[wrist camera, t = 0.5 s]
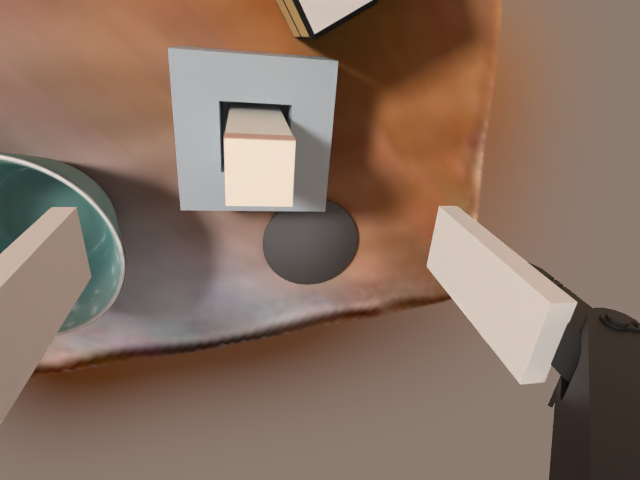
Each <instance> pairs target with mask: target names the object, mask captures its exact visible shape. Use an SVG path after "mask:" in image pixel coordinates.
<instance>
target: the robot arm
mask: <svg viewBox="0 0 640 480" xmlns="http://www.w3.org/2000/svg"><path fill="white" fill-rule="evenodd" d="M427 268H428V269H429V270H430V272H431V273H432V274H433V275H434V277H435V278H436V279H437V280H438V282H439V283H440V284H441V285H442V287H443V288H444V289H445V290H446V292H447V293H448V294H449V295H450V297H451V298H452V299H453V300H454V302H455V303H456V304H457V305H458V307H459V308H460V309H461V310H462V312H463V313H464V314H465V315H466V317H467V318H468V319H469V320H470V322H471V323H472V324H473V325H474V327H475V328H476V329H477V330H478V332H479V333H480V334H481V336H482V337H483V338H484V339H485V340H486V342H487V343H488V344H489V345H490V347H491V348H492V349H493V350H494V352H495V353H496V354H497V356H498V357H499V358H500V359H501V361H502V362H503V363H504V364H505V366H506V367H507V368H508V369H509V371H510V372H511V373H512V374H513V376H514V377H515V378H516V379H517V381H518V382H519V383H520V384H531V383H542V382H545V380H546V378H547V375H548V373H549V370H550V368H551V366H553V367H554V368H555V369H556V370H557V371H558V372H559V374H560V375H561V376H560V379H559V381H558V383H557V386H556V388H555V390H554V392H553V395H552V398H551V399H550V402H549V404H548V406H550V407H553V405H554V403H555V410H554V424H553V437H552V448H551V461H550V475H549V480H640V323H639V322H637V321H636V320H635V319H632V318H631V317H629V316H628V315H626V314H623V313H620V312H618V311H615V310H611V309H606V308H592V307H590V306H589V305H588V304H586V303H585V302H584V301H583V300H581V299H580V298H579V297H577V296H576V295H575V294H573V293H572V292H571V291H570V290H568V289H567V288H566V287H563V285H562V284H560V282H558V281H557V280H554V278H553V277H552V276H551V275H549V274H548V273H547V272H545V271H544V270H543V269H541V268H539V267H537V266H535V265H533V264H531V263H529V262H527V261H525V260H524V259H523V258H522V257H520V256H519V255H518V254H517V253H515V252H514V251H513V250H512V249H510V248H509V247H508V246H506V245H505V244H504V243H503V242H501V241H500V240H499V239H497V238H496V237H495V236H494V235H493V234H491V233H490V232H489V231H488V230H486V229H485V228H484V227H483V226H481V225H480V224H479V223H478V222H476V221H475V220H474V219H473V218H471V217H470V216H469V215H468V214H466V213H465V212H464V211H463V210H461V209H460V208H459V207H458V206H439V209H438V213H437V218H436V223H435V228H434V233H433V238H432V242H431V247H430V252H429V257H428V262H427ZM90 279H91V272H90V268H89V263H88V258H87V253H86V249H85V244H84V239H83V235H82V230H81V225H80V220H79V216H78V211H77V207H51V208H50V209H49V210H48V211H47V212H46V213H45V214H43V215H42V216H41V217H40V218H39V219H38V220H37V221H36V222H35V223H34V224H33V225H31V226H30V227H29V228H28V229H27V230H26V231H25V232H24V233H23V234H22V235H20V236H19V237H18V238H17V239H16V240H15V241H14V242H13V243H12V244H11V245H10V246H8V247H7V248H6V249H5V250H4V251H3V252H2V253H1V254H0V425H1V423H2V421H3V420H4V418H5V417H6V415H7V413H8V412H9V410H10V409H11V407H12V405H13V404H14V402H15V400H16V399H17V397H18V395H19V394H20V392H21V391H22V389H23V387H24V386H25V384H26V383H27V381H28V379H29V378H30V376H31V374H32V373H33V371H34V370H35V368H36V366H37V365H38V363H39V361H40V360H41V358H42V357H43V355H44V353H45V352H46V350H47V348H48V347H49V345H50V344H51V342H52V340H53V339H54V337H55V335H56V334H57V332H58V331H59V329H60V327H61V326H62V324H63V322H64V321H65V319H66V318H67V316H68V314H69V313H70V311H71V309H72V308H73V306H74V305H75V303H76V301H77V300H78V298H79V296H80V295H81V293H82V292H83V290H84V288H85V287H86V285H87V283H88V282H89V280H90Z"/></svg>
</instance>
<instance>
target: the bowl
mask: <svg viewBox="0 0 640 480" xmlns="http://www.w3.org/2000/svg"><path fill="white" fill-rule="evenodd" d="M51 207H77V211H78V216H79V220H80V225H81V230H82V235H83V239H84V244H85V249H86V253H87V258H88V263H89V268H90V272H91V279H90V280H89V282H88V283H87V285H86V287H85V288H84V290H83V292H82V293H81V295H80V296H79V298H78V300H77V301H76V303H75V305H74V306H73V308H72V309H71V311H70V313H69V314H68V316H67V318H66V319H65V321H64V322H63V324H62V326H61V327H60V329H59V331H58V332H57V334H56V335H55V336H57V335H61V334H65V333H69V332H72V331H75V330H78V329H80V328H82V327H84V326H87V325H88V324H90V323H92V322H94V321H95V320H97V319H98V318H99V317H101V316H102V315H103V314H104V313H105V312H106V311H107V310H108V309H109V308H110V307H111V306H112V305H113V304H114V302H115V301H116V299H117V298H118V296H119V294H120V292H121V289H122V287H123V283H124V279H125V272H126V258H125V252H124V246H123V240H122V235H121V231H120V227H119V223H118V220H117V216H116V212H115V209H114V207H113V205H112V203H111V201H110V199H109V197H108V196H107V195H106V193H105V192H104V191H103V189H102V188H101V187H100V186H99V185H98V184H97V183H96V182H95V181H94V180H92V179H91V178H90V177H89V176H87V175H86V174H85V173H83V172H81V171H80V170H78V169H76V168H74V167H72V166H70V165H68V164H65V163H63V162H60V161H57V160H53V159H48V158H41V157H34V156H27V155H19V154H7V153H0V254H1V253H2V252H3V251H4V250H5V249H6V248H7V247H8V246H10V245H11V244H12V243H13V242H14V241H15V240H16V239H17V238H18V237H19V236H20V235H22V234H23V233H24V232H25V231H26V230H27V229H28V228H29V227H30V226H31V225H33V224H34V223H35V222H36V221H37V220H38V219H39V218H40V217H41V216H42V215H43V214H45V213H46V212H47V211H48V210H49V209H50V208H51Z"/></svg>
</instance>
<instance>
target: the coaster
mask: <svg viewBox="0 0 640 480" xmlns="http://www.w3.org/2000/svg"><path fill="white" fill-rule="evenodd" d="M356 247H357V231H356V227H355V225H354V222H353V220H352V219H351V217H350V216H349V214H348V213H347V212H346V211H345V210H344V209H343V208H342V207H340V206H339V205H337V204H336V203H334V202H331V201H328V200H326V209H325V212H314V211H278V212H277V213H276V214H275V215H274V216H273V217H272V219H271V220H270V222H269V223H268V225H267V227H266V230H265V233H264V238H263V250H264V255H265V258H266V260H267V262H268V264H269V266H270V267H271V268H272V270H273V271H274V272H275V273H276V274H278V275H279V276H280V277H282V278H284V279H285V280H288V281H290V282H293V283H297V284H316V283H321V282H324V281H327V280H329V279H331V278H333V277H335V276H336V275H338V274H339V273H340V272H342V271H343V270H344V269H345V268H346V266H347V265H348V264H349V263H350V261H351V260H352V258H353V256H354V253H355V251H356Z"/></svg>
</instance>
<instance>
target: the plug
mask: <svg viewBox="0 0 640 480" xmlns="http://www.w3.org/2000/svg"><path fill="white" fill-rule="evenodd" d="M295 148H296V140H295V138H294V136H293V135H292V132H291V130H290V128H289V126H288V124H287V122H286V120H285V118H284V116H283V114H282V112H281V110H280V108H279V106H278V104H264V103H246V102H231V103H230V108H229V113H228V119H227V124H226V129H225V133H224V174H225V205H226V206H267V207H293V187H294V168H295Z"/></svg>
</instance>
